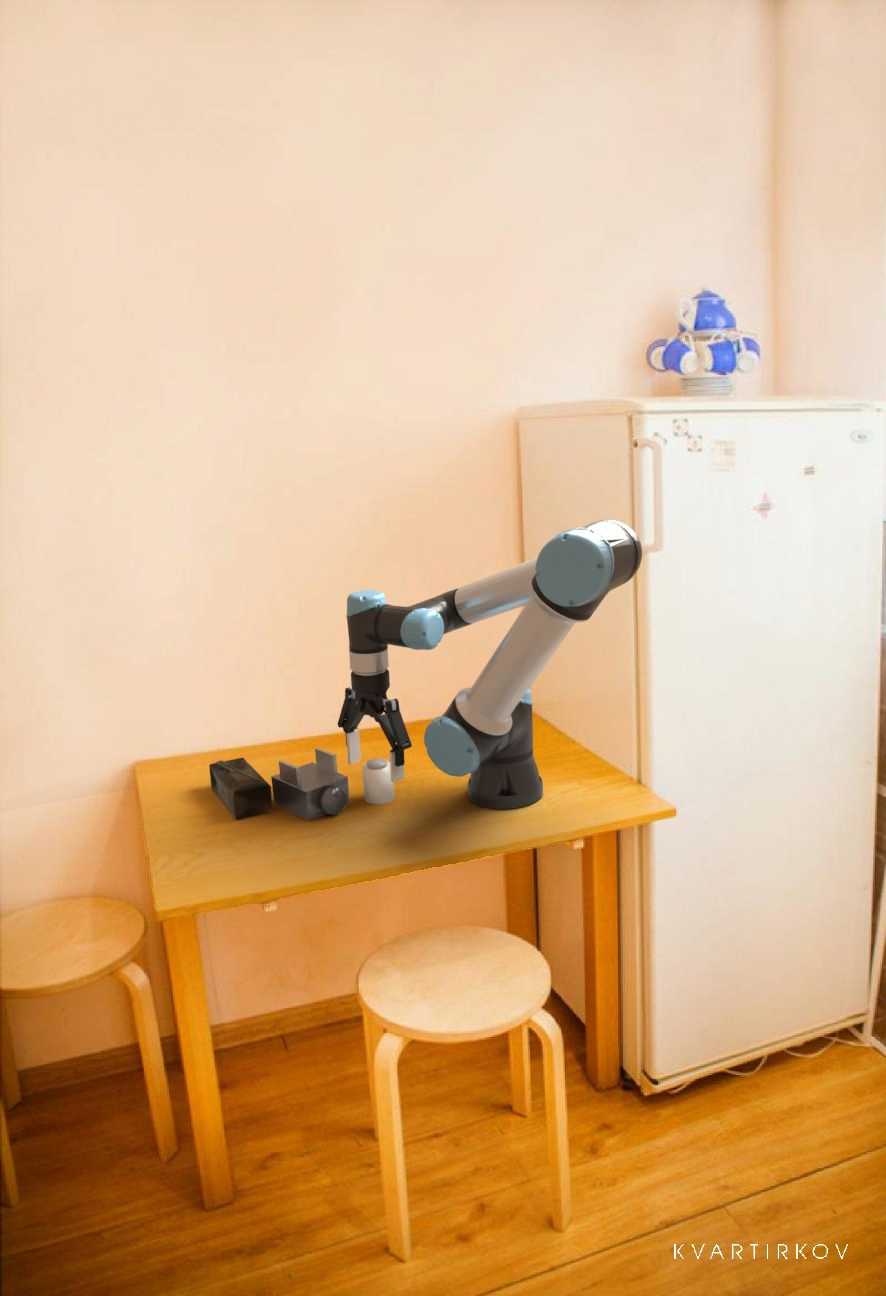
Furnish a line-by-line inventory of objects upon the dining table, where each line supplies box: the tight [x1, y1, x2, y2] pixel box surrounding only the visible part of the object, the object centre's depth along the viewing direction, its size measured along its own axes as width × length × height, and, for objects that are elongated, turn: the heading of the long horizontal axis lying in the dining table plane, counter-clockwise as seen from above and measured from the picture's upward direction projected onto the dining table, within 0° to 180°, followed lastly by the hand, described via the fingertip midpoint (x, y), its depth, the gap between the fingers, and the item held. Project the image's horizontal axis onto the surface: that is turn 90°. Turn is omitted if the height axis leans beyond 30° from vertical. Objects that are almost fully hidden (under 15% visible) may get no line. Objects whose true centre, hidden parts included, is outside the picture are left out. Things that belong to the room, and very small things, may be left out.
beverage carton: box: [208, 757, 273, 821], centre depth 201 cm, size 8×19×7 cm, turn 27°
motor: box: [270, 747, 351, 822], centre depth 196 cm, size 14×10×10 cm
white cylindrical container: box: [361, 757, 395, 805], centre depth 198 cm, size 6×6×8 cm
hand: (375, 771), depth 198 cm, fingers open, 13 cm apart
